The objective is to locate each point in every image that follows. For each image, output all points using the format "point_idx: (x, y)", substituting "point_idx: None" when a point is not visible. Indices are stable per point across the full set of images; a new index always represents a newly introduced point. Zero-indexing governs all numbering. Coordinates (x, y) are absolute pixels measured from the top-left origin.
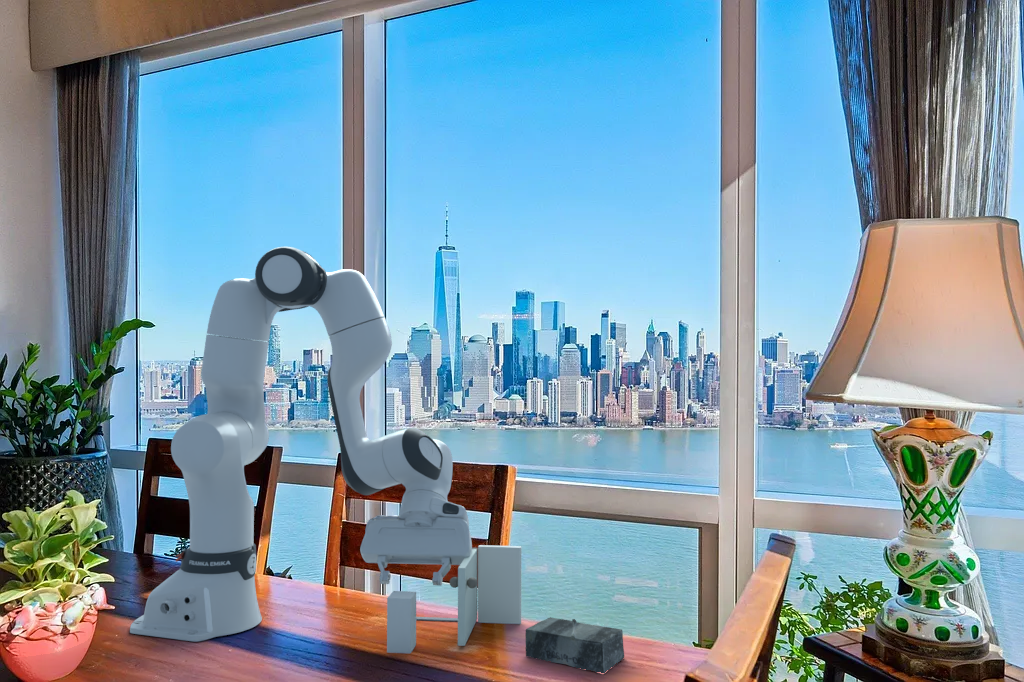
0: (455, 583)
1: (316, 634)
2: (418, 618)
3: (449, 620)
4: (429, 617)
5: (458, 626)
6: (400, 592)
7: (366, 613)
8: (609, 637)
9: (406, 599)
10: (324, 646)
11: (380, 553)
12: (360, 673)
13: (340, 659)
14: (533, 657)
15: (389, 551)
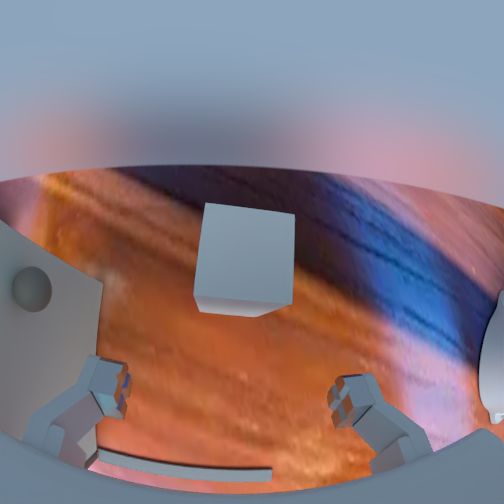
0: (31, 266)
1: (411, 353)
2: (223, 472)
3: (145, 460)
4: (198, 478)
5: (85, 274)
6: (259, 283)
7: None
8: None
9: (221, 205)
10: (384, 293)
11: (435, 453)
12: (284, 168)
13: (338, 228)
14: None
15: (405, 475)
